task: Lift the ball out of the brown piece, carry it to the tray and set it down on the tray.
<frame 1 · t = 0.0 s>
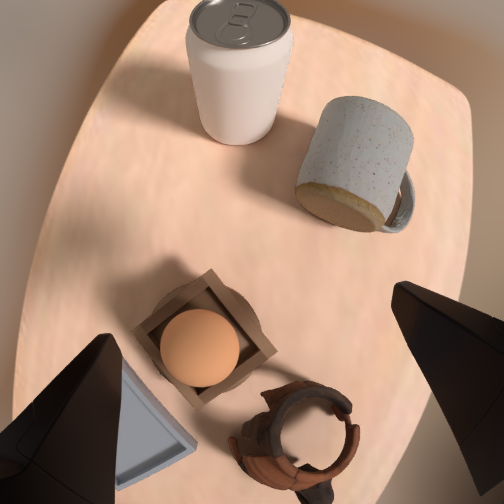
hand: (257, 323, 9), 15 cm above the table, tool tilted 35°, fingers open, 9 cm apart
tray: (119, 426, 22), on the table
brown piece: (207, 333, 23), on the table
pottery mug: (289, 435, 23), on the table
can: (237, 116, 25), on the table
ball: (199, 348, 18), point 5 cm above the table, touching brown piece
ceramic mug: (353, 186, 25), on the table
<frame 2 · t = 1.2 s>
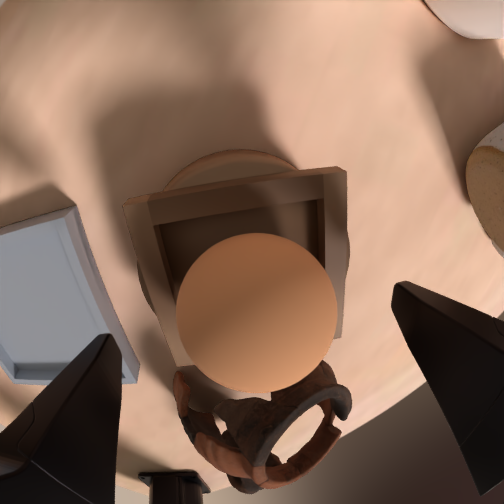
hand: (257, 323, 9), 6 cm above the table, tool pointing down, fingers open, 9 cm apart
tray: (36, 307, 14), on the table
brown piece: (239, 238, 14), on the table
pottery mug: (248, 389, 19), on the table
ball: (256, 313, 9), point 5 cm above the table, touching brown piece
ceramic mug: (500, 174, 15), on the table
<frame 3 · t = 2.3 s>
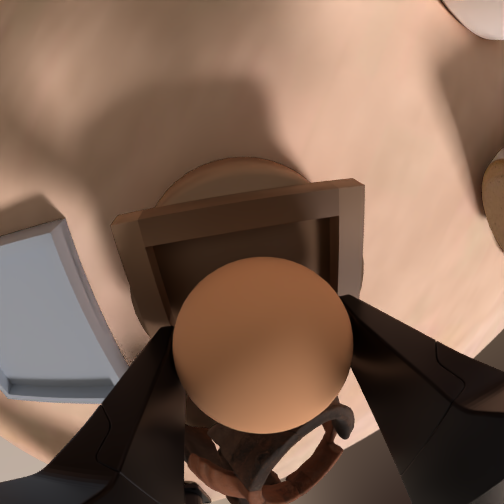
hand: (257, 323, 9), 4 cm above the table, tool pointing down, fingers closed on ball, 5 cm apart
tray: (27, 323, 13), on the table
brown piece: (241, 254, 13), on the table
pottery mug: (245, 405, 18), on the table
ball: (263, 346, 8), point 5 cm above the table, touching brown piece, gripper
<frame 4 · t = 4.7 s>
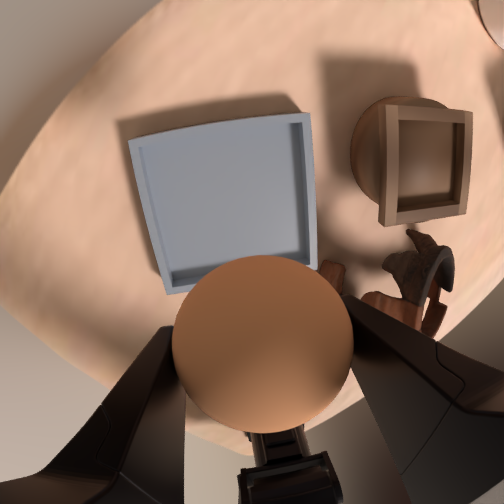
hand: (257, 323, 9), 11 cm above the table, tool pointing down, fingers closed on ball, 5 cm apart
tray: (229, 201, 19), on the table
brown piece: (400, 153, 19), on the table
pottery mug: (369, 283, 24), on the table
can: (496, 19, 14), on the table
ball: (262, 345, 8), point 12 cm above the table, touching gripper
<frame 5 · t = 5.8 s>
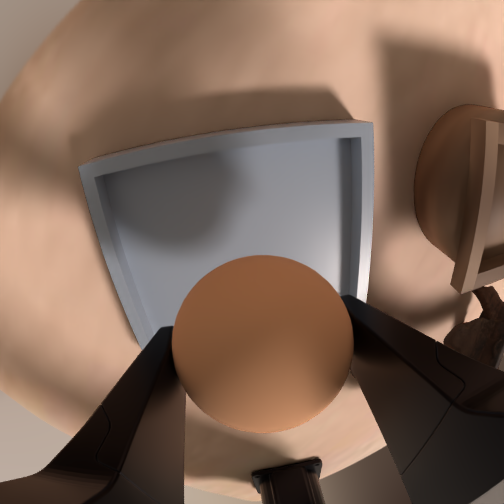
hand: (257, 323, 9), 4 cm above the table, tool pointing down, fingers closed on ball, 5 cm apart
tray: (241, 254, 13), on the table
brown piece: (471, 181, 13), on the table
pottery mug: (409, 339, 17), on the table
ball: (262, 344, 8), point 5 cm above the table, touching gripper
when the fingers open (3 cm above the table, at t = 6.9 s): ball moves 1 cm, resting on tray.
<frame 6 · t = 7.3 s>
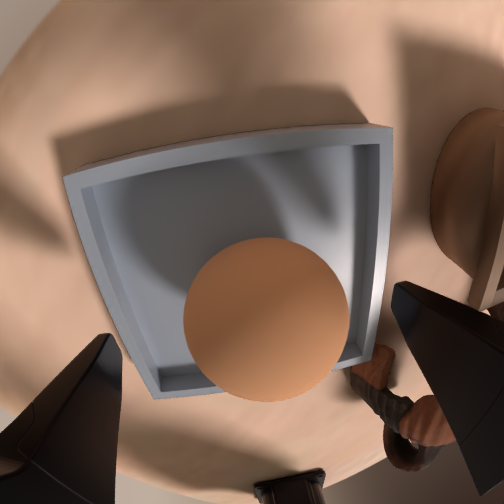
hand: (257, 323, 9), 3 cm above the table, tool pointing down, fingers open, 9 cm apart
tray: (245, 271, 12), on the table
brown piece: (487, 189, 11), on the table
pottery mug: (414, 352, 16), on the table
ball: (266, 320, 9), point 3 cm above the table, tilted 7°, touching tray
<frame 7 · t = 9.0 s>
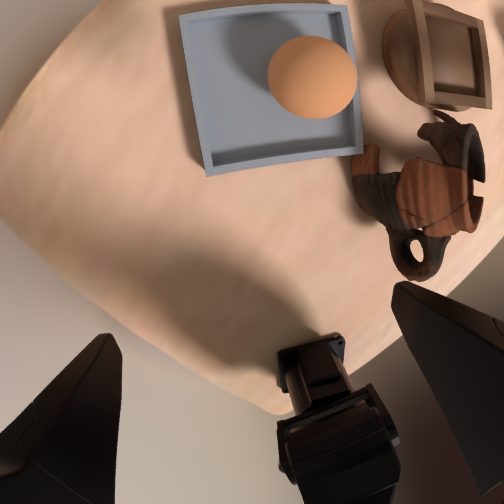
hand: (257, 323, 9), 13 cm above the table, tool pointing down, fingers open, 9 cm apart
tray: (273, 82, 17), on the table
brown piece: (425, 57, 17), on the table
pottery mug: (401, 181, 22), on the table
ball: (312, 76, 14), point 3 cm above the table, tilted 36°, touching tray
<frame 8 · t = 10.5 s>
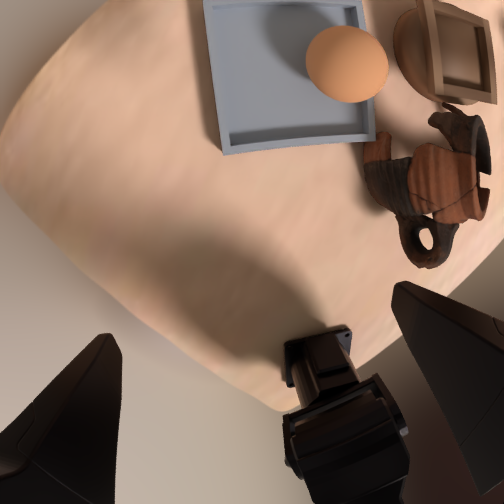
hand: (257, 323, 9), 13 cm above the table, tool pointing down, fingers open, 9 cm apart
tray: (290, 69, 17), on the table
brown piece: (434, 54, 17), on the table
pottery mug: (410, 172, 22), on the table
ball: (347, 63, 15), point 3 cm above the table, tilted 62°, touching tray
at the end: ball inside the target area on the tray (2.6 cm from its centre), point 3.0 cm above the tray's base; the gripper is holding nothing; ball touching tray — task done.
